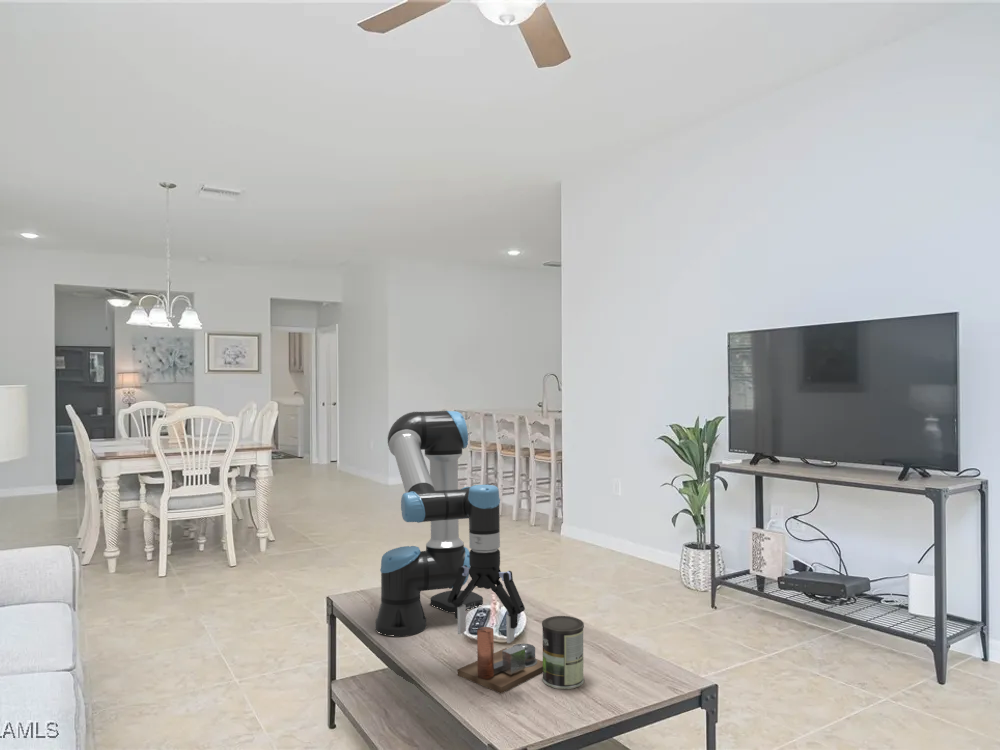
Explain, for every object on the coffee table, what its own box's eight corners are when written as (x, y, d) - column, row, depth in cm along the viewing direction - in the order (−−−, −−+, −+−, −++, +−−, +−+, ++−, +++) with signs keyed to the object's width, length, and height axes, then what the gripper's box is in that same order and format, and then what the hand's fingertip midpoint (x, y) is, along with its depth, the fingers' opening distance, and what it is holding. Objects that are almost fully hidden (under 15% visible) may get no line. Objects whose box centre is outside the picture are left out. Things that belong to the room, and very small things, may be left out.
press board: (457, 675, 169) (457, 668, 169) (505, 653, 182) (505, 647, 182) (501, 693, 159) (501, 686, 159) (548, 669, 172) (548, 662, 172)
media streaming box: (459, 595, 234) (459, 586, 234) (487, 605, 223) (487, 596, 223) (425, 605, 224) (425, 595, 224) (453, 616, 213) (453, 606, 213)
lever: (523, 653, 178) (523, 611, 178) (543, 661, 172) (543, 618, 172) (471, 673, 166) (471, 628, 166) (491, 683, 160) (490, 636, 160)
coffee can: (543, 689, 161) (542, 630, 161) (541, 671, 171) (541, 615, 171) (586, 689, 161) (585, 630, 161) (582, 671, 171) (581, 615, 171)
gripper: (433, 547, 167) (434, 633, 167) (523, 557, 156) (525, 650, 155) (449, 541, 174) (450, 624, 173) (537, 550, 162) (538, 639, 162)
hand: (485, 636), depth 164 cm, fingers open, 13 cm apart
